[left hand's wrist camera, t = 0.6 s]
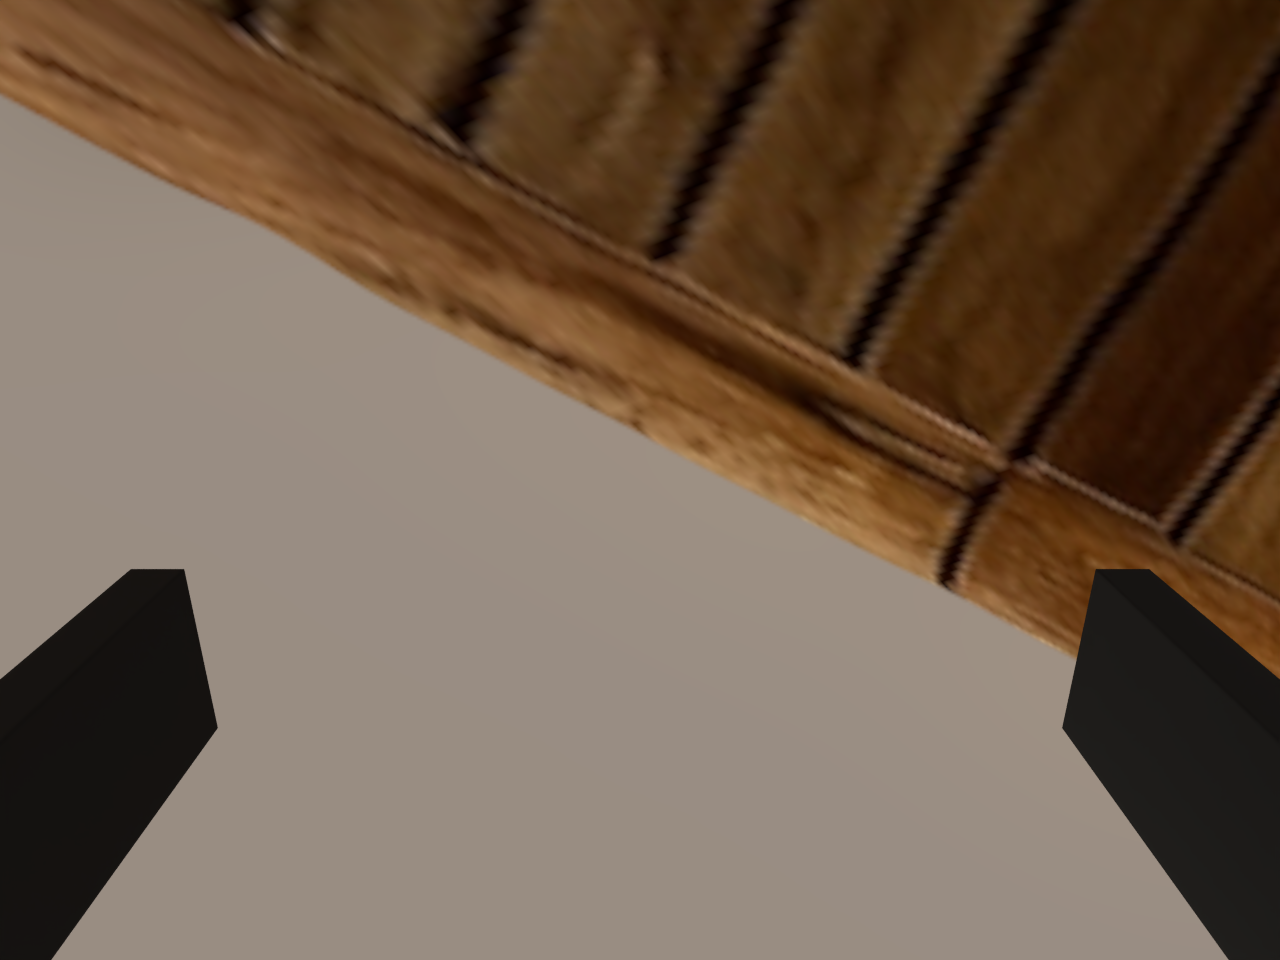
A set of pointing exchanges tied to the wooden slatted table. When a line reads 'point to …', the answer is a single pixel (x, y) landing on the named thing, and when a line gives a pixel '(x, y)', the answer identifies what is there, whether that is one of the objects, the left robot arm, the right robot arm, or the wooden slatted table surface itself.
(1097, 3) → the wooden slatted table surface
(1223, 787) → the left robot arm
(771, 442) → the wooden slatted table surface
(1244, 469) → the wooden slatted table surface
